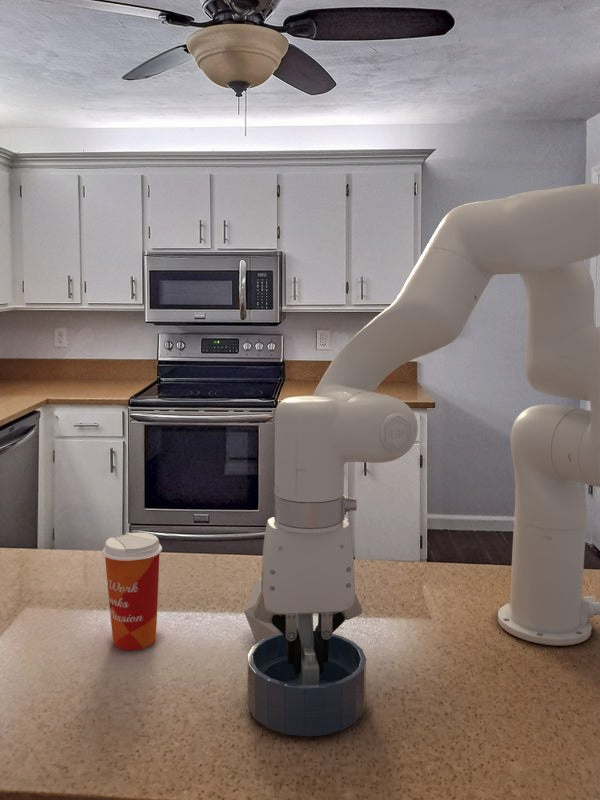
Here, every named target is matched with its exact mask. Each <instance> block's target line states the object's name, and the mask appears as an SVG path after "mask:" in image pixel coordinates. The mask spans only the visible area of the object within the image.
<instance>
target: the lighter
mask: <svg viewBox="0 0 600 800" xmlns="http://www.w3.org/2000/svg"><path fill="white" fill-rule="evenodd" d="M297 628H298V631H299V635H300V639H301V673H299V685H319V665H318V661H317V658H316V654H315V651H314V632H313V631H314V613H313V614H297Z"/></svg>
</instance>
